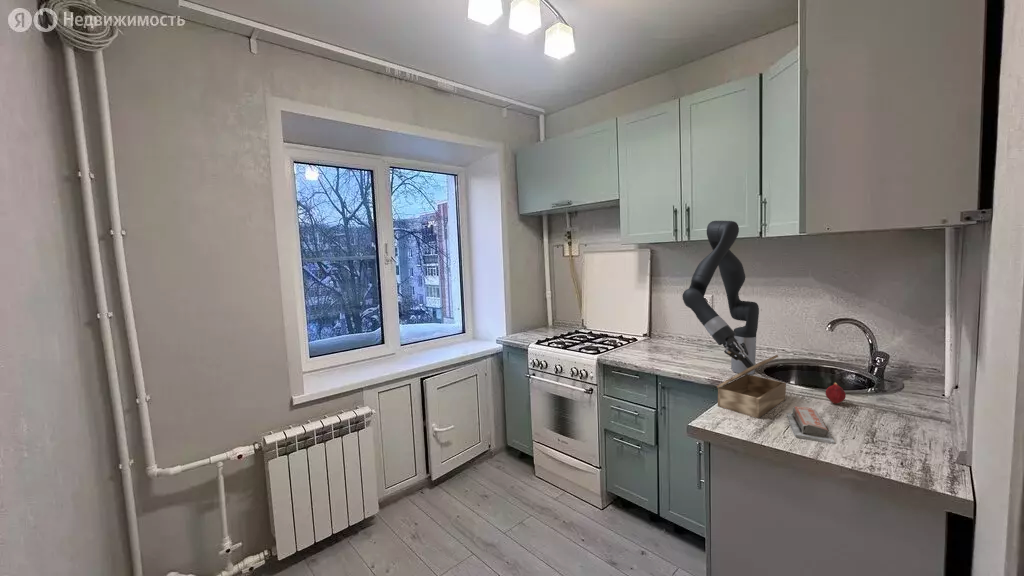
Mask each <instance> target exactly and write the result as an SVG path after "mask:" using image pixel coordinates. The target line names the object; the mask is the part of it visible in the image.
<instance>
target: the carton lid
mask: <svg viewBox="0 0 1024 576" xmlns="http://www.w3.org/2000/svg"><path fill="white" fill-rule="evenodd" d="M776 358H779V355H778V354H776V355H773V356H771V357H770V358H766V359H764V360H762V361H760V362H758V363H757V364H756V363H755V365H754V366H752V367H750V368H748V369H746V370H744V371H742V372H741V373H737V374H736V375H733V376H731V377H730V378H728V379H726V380H724V381H722V382H721V383H719V384H717V385H716V388H717V389H718V388H720V387H722V386H724V385H726V384H728V383H730V382H732V381H734V380H736V379H738V378H740V377H742V376H744V375H746V374H747V373H749V372H751V371H753V370H755V371H756V369H759V368H760V367H762V366H764V365H766V364H768V363H769V362H771V361H773V360H775V359H776Z"/></svg>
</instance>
